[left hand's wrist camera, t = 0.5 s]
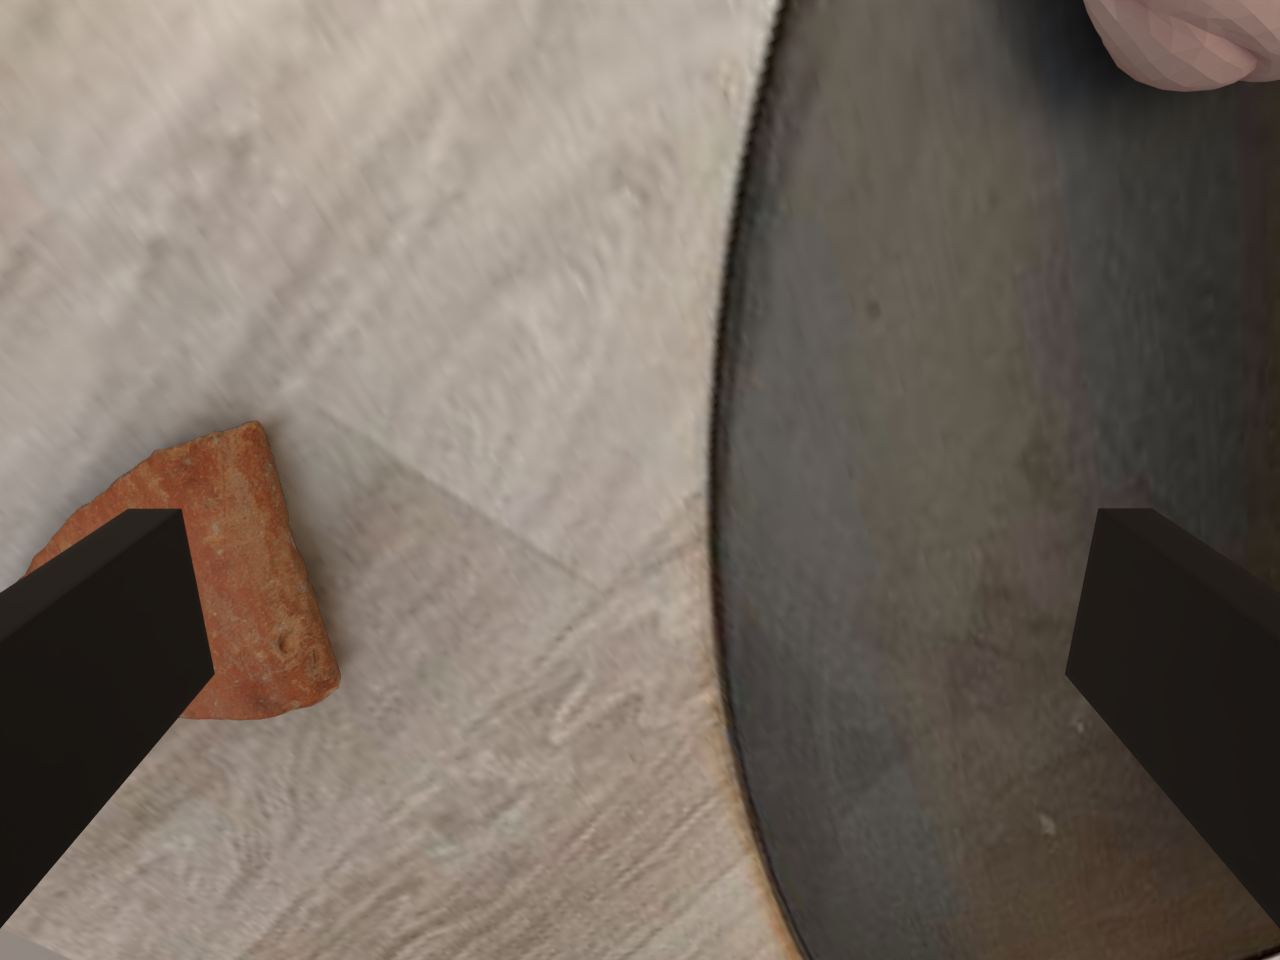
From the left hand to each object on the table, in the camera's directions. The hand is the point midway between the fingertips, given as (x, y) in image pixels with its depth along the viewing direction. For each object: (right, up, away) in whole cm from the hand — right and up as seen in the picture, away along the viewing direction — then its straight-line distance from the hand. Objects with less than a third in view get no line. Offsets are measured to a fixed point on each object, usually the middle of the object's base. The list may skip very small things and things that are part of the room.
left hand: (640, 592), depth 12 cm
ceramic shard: (-24, -3, +31) cm, 39 cm away
